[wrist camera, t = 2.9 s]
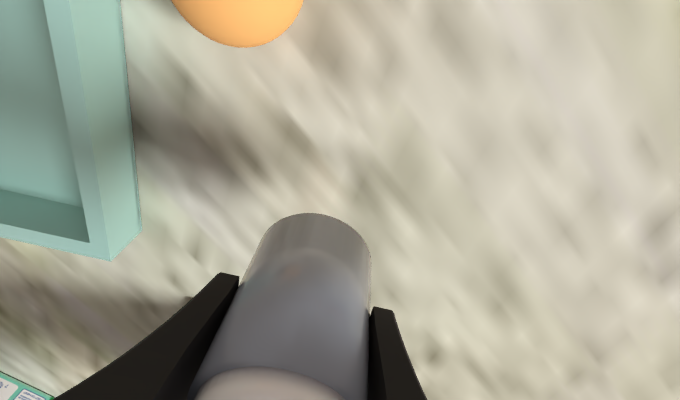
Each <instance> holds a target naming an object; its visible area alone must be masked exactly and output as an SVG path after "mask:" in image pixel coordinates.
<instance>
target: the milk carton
mask: <svg viewBox="0 0 680 400" xmlns="http://www.w3.org/2000/svg"><path fill="white" fill-rule="evenodd" d="M52 399H54V397H52V396H50V395H48V394H46V393H44V392H42V391H40V390H38V389H35V388H33V387H31V386H29V385H27V384H25V383H23V382H21V381H19V380H16V379H14V378H12V377H10V376H8V375H6V374H4V373H2V372H0V400H52Z"/></svg>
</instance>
